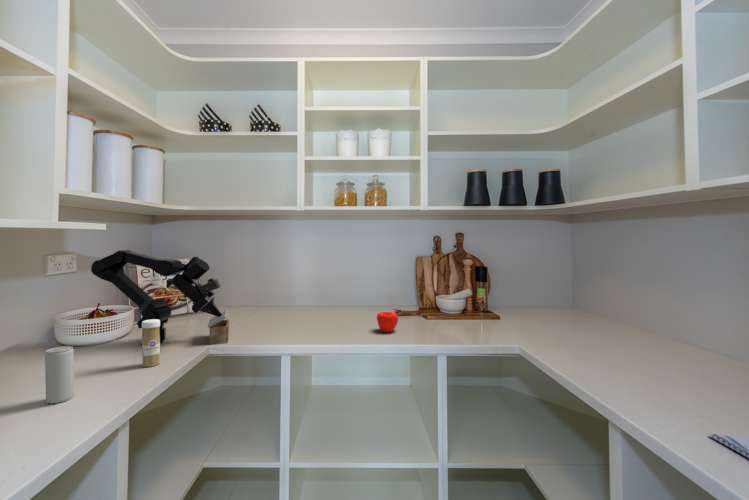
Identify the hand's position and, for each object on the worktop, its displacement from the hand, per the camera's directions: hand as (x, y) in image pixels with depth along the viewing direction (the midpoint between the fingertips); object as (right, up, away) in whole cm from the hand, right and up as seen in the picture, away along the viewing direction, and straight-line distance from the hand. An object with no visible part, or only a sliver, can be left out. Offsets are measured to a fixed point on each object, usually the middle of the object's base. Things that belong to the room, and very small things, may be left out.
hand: (220, 315), depth 123 cm
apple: (+64, -9, +13) cm, 66 cm away
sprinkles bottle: (-9, -10, -26) cm, 29 cm away
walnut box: (0, -9, 0) cm, 9 cm away
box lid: (-1, -1, 0) cm, 2 cm away
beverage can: (-15, -10, -48) cm, 51 cm away
